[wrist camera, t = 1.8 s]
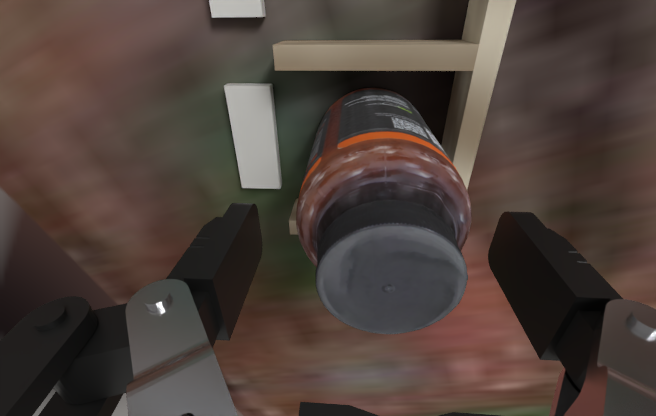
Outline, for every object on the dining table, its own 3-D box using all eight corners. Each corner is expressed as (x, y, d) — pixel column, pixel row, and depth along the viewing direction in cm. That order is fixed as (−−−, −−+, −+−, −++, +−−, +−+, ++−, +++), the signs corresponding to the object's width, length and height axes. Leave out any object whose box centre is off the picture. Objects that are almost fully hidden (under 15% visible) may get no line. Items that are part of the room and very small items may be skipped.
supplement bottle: (330, 193, 20) (306, 363, 10) (305, 98, 17) (239, 212, 7) (427, 177, 19) (502, 350, 9) (419, 72, 16) (519, 166, 6)
